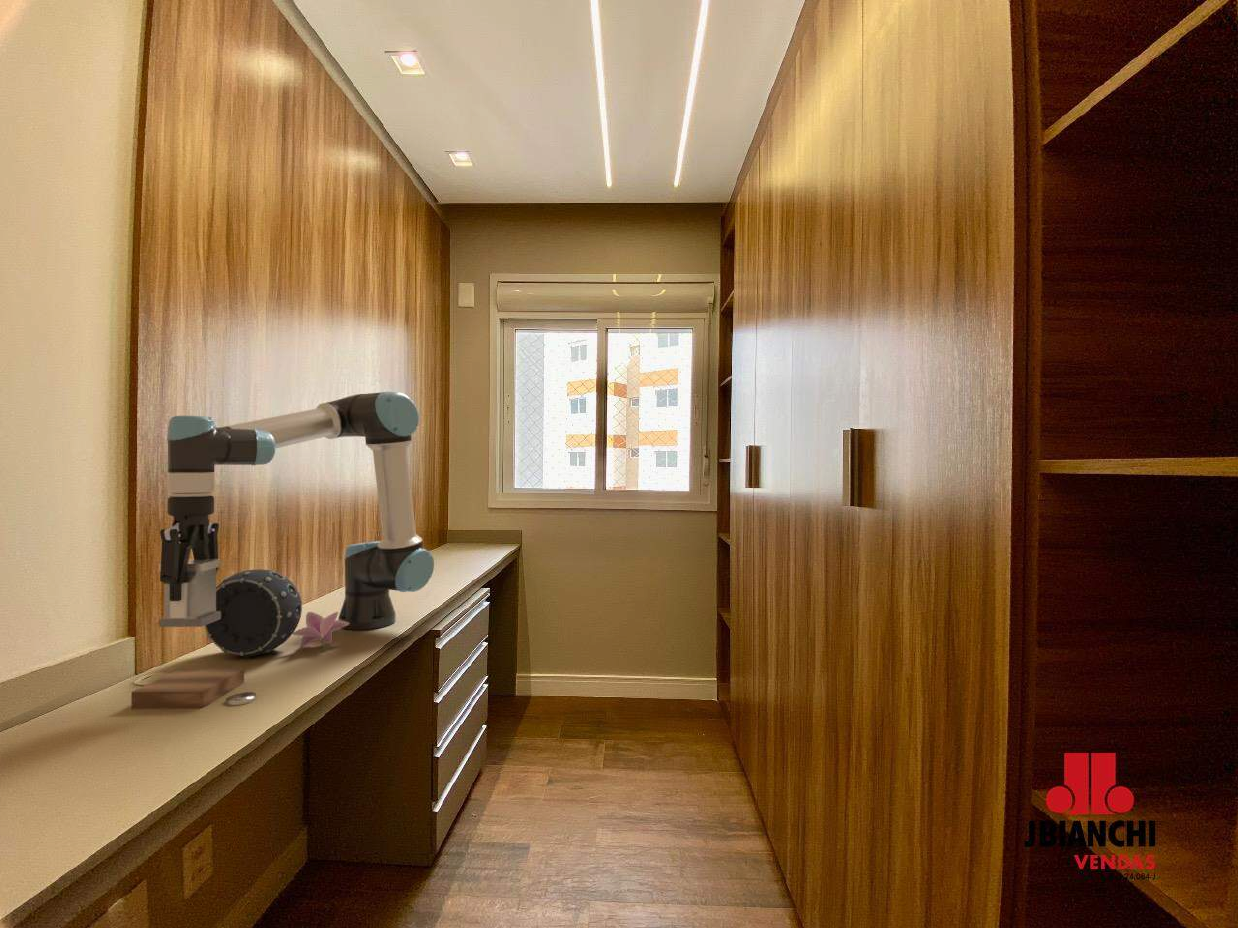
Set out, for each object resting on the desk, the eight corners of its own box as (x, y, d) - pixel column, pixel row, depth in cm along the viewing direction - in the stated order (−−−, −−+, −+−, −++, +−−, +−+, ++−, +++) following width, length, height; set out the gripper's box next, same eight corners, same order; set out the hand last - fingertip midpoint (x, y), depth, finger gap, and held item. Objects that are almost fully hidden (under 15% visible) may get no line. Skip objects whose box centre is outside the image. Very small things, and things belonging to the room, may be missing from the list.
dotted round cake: (285, 660, 141) (285, 573, 141) (196, 661, 140) (196, 574, 140) (307, 646, 151) (307, 566, 152) (225, 647, 151) (225, 566, 151)
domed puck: (235, 697, 120) (235, 692, 120) (261, 697, 120) (261, 691, 120) (220, 707, 115) (220, 702, 115) (247, 707, 115) (247, 701, 115)
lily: (357, 646, 155) (348, 611, 158) (343, 640, 145) (334, 602, 148) (308, 665, 152) (299, 628, 155) (290, 660, 142) (282, 621, 145)
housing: (180, 618, 123) (180, 559, 123) (221, 618, 123) (221, 559, 123) (158, 626, 117) (159, 563, 117) (201, 626, 117) (201, 563, 117)
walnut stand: (180, 683, 126) (180, 668, 126) (244, 682, 127) (244, 668, 127) (131, 708, 113) (131, 692, 113) (202, 707, 114) (202, 691, 114)
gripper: (203, 492, 129) (203, 602, 129) (134, 497, 110) (133, 625, 110) (239, 492, 130) (239, 602, 129) (176, 497, 111) (176, 625, 110)
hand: (190, 612), depth 120 cm, fingers closed on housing, 6 cm apart
